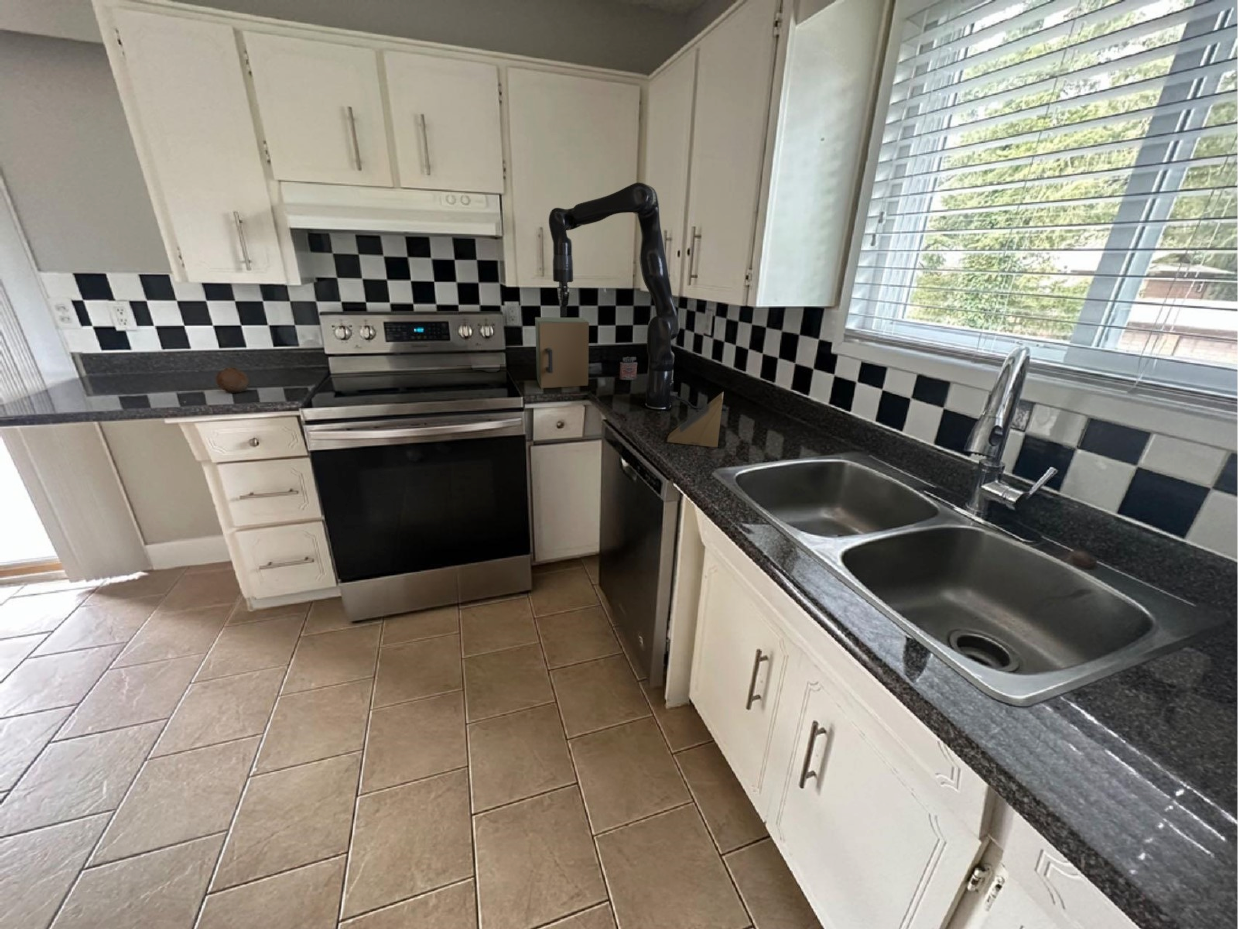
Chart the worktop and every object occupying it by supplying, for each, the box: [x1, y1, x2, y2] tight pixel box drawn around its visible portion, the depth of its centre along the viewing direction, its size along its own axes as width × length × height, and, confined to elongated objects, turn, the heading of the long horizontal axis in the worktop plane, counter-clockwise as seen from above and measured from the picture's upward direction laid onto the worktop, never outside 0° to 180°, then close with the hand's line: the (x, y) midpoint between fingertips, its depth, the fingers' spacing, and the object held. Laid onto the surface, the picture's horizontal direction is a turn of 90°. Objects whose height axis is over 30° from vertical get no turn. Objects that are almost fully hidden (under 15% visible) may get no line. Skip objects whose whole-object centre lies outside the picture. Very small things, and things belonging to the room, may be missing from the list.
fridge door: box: [539, 321, 590, 389], centre depth 203 cm, size 6×20×26 cm, turn 112°
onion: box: [215, 366, 249, 394], centre depth 184 cm, size 10×9×10 cm
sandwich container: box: [666, 391, 724, 448], centre depth 151 cm, size 9×15×15 cm, turn 78°
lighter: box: [618, 356, 638, 381], centre depth 226 cm, size 8×3×10 cm, turn 104°
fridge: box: [534, 316, 589, 387], centre depth 213 cm, size 14×20×26 cm
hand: (563, 316), depth 193 cm, fingers closed
